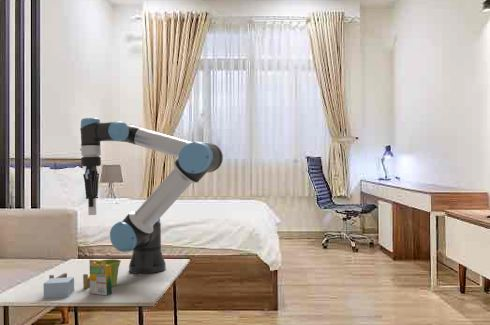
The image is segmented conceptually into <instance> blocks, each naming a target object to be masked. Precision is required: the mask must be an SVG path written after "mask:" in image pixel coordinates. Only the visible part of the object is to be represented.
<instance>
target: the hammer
mask: <svg viewBox="0 0 490 325" xmlns="http://www.w3.org/2000/svg"><path fill="white" fill-rule="evenodd" d="M48 278H49V279H50V278H68V273H67V272H63V273H62V274H59V275H58V276H57V277H55V275H54V274H49V276H48ZM49 279H48V280H49ZM82 279H83V280H82V281H83V282H82V283H83V290H88V289H90V275H89V274H88V273H84V274H82Z"/></svg>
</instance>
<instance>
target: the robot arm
mask: <svg viewBox="0 0 490 325" xmlns="http://www.w3.org/2000/svg"><path fill="white" fill-rule="evenodd" d="M79 129H80V130H79V131H80V143H81V144H80V148H79V151H80V154H81V156H82V157H81V160H80V162H81V167H85V171H84V173H83V180H84V182H83V183H84V189H85V199H86V200H87V206H88V207H87V209H88V211H87V212H88V216H96V215H97V199H99V178H100V173H98V169H97V167H100V166H102V157H101V155H102V153H101V146H102V145H101V142H121V143H122V142H123V143H128V144H132V145H134V146H135V145H137V146H138V147H139V146H140V147H142V148H145V149H149V150H152V151H155V152H160V153H161V154H162V153H163V154H164V155H169V156H171V157H172V156H173V157H175V158H177V159H176V160H175V161H174V168H173V169H172V170H171V171H170V173H169V174H168V175H167V176H166V177H165V178H164V180H163V181H162V182H161V183H160V184H159V185H158V186H157V187H156V188H155V190H153V192H152V193H151V194H150V195H149V196H148V197H147V198H146V199H145V201H144V202H142V204H141V206H139V208H137V210H132V211H130V212H129V213H128V214H127V215H126V216H125V217H124V219H122V220H121V221H117V222H116V223H115V224H113V225H112V227H111V228H110V231H109V236H110V238H109V240H110V243H111V245H112V246H113V248H114V249H115V250H117V251H119V252H123V253H126V252H132V254H131V258H130V261H129V265H128V271H129V273H132V274H154V273H158V272H162V271H165V270H166V269H167V268H166V267H167V265H166V261H165V258H164V255H163V253H162V239H161V238H162V237H161V236H162V234H161V233H162V232H161V230H162V229H161V228H162V223H161V218H162V216H163V215H164V214H165V213H166V212H167V211H168V210H169V209H170V208H171V207H172V205H174V203H175V202H176V201H177V199H178V200H179V197H181V195H182V194H183V193H184V192H186V191H187V189H188V188H189V187H190V186H191V185H192V184H196V183H199V182H200V181H201V179H202V178H203V177H204V176H205V175H206V174H207V173H212V172H215V171H217V170H219V168H220V167H221V166H222V163H223V161H224V159H223V158H224V155H223V152H222V150H221V148H220V147H219V146H218V145H216V144H214V143H211V142H203V141H200V140H199V141H198V140H197V141H196V140H195V141H188V140H185V139H182V138H178V137H175V136H171V135H168V134H165V133H160V132H158V131H154V130H150V129H148V128H147V129H146V128H144V127H140V126H137V125H135V124H128V123H127V124H126V122H125V121H119V120H118V121H116V120H115V121H108V122H101V121H100V118H98V117H85V118H82V119H81V120H80V128H79Z"/></svg>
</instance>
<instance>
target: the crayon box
mask: <svg viewBox="0 0 490 325" xmlns="http://www.w3.org/2000/svg"><path fill="white" fill-rule="evenodd" d="M88 261H89V276H90V287H89V294H90V295H91V294H92V295H93V294H94V295H101V296H108V295H111V294H113V292H112V291H113V290H112V288H113V286H112V278H111V265H106V261H100V260H99V259H98V260H96V259H95V260H94V259H89V260H88ZM94 262H100V263H101V264H94Z"/></svg>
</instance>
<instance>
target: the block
mask: <svg viewBox="0 0 490 325" xmlns="http://www.w3.org/2000/svg"><path fill="white" fill-rule="evenodd" d="M74 292H75V277H74V276H73V277H69V276H67V278H56V277H54V278H50V279H48V280H47V281H45V282H44V283H43V299H46V298H47V297H51V298H64V297H65V298H69V297H70V296H71V295H72V294H73V293H74Z"/></svg>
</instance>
